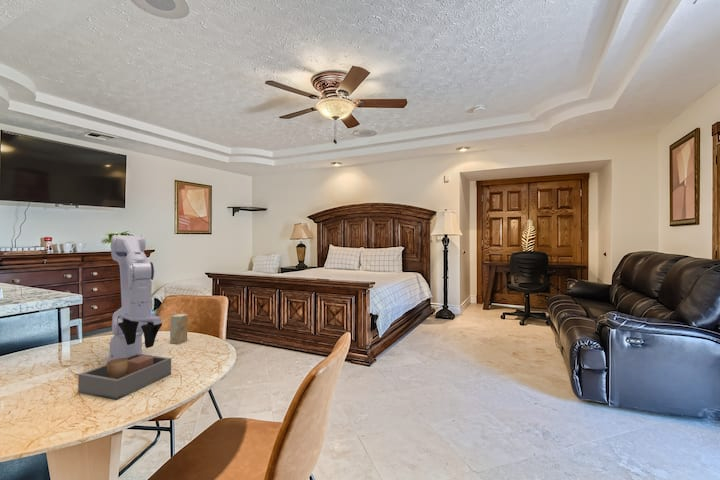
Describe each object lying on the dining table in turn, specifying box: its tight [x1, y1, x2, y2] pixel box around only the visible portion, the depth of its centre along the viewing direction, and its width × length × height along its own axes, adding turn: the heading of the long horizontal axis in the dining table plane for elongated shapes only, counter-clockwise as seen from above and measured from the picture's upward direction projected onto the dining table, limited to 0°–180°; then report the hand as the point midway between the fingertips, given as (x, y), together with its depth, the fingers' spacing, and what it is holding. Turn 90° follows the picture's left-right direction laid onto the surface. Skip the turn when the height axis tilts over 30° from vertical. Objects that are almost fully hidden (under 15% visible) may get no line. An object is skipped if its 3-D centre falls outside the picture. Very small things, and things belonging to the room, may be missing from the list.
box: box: [169, 313, 189, 345], centre depth 141 cm, size 5×4×11 cm
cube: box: [128, 356, 153, 375], centre depth 106 cm, size 5×5×5 cm
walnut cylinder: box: [106, 358, 128, 379], centre depth 99 cm, size 5×5×7 cm
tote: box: [77, 353, 172, 401], centre depth 102 cm, size 14×18×5 cm
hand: (140, 345), depth 106 cm, fingers open, 7 cm apart
